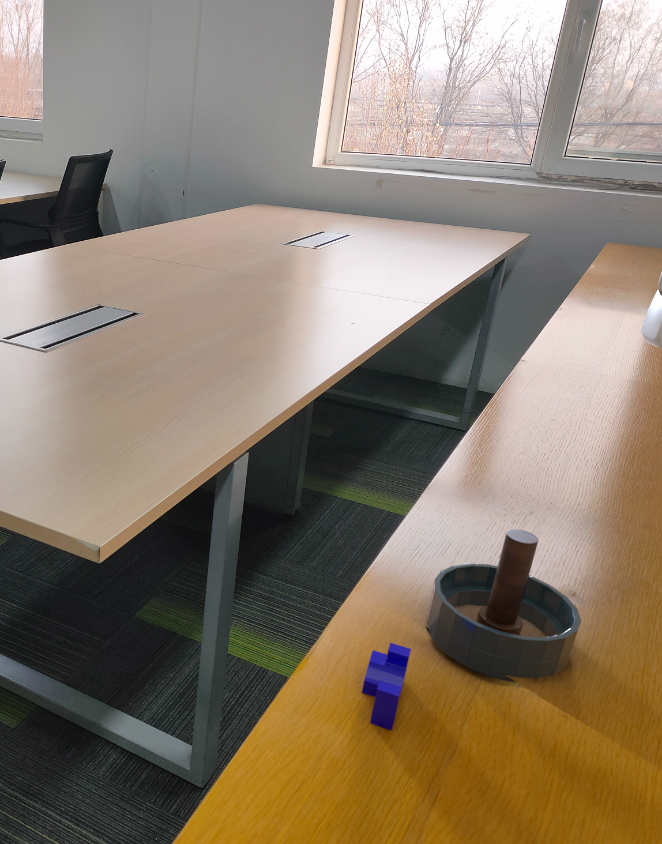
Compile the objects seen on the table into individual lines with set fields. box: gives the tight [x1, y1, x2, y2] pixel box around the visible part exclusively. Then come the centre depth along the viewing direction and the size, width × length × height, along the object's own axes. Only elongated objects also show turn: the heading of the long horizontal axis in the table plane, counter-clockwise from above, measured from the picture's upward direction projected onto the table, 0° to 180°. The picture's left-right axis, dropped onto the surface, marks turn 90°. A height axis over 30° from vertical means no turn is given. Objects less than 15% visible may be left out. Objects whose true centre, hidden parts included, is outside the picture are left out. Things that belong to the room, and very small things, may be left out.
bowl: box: [425, 562, 582, 683], centre depth 87 cm, size 14×14×6 cm
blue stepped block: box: [361, 642, 412, 731], centre depth 79 cm, size 8×4×4 cm, turn 153°
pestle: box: [475, 528, 539, 636], centre depth 85 cm, size 4×4×13 cm
